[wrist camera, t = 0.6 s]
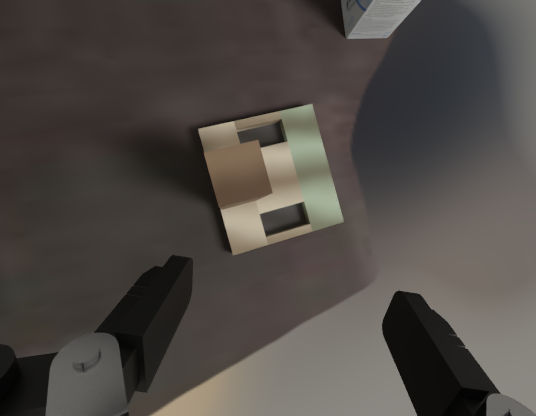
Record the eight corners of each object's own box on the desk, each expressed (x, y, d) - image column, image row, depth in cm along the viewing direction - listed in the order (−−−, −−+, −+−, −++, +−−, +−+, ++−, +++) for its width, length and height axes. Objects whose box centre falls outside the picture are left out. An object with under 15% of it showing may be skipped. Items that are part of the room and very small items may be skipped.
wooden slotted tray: (199, 132, 32) (197, 128, 31) (308, 108, 34) (312, 104, 33) (233, 253, 32) (233, 255, 31) (338, 221, 35) (343, 221, 33)
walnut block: (212, 174, 31) (203, 152, 20) (248, 165, 31) (258, 139, 21) (222, 209, 31) (219, 207, 20) (257, 200, 31) (272, 192, 21)
